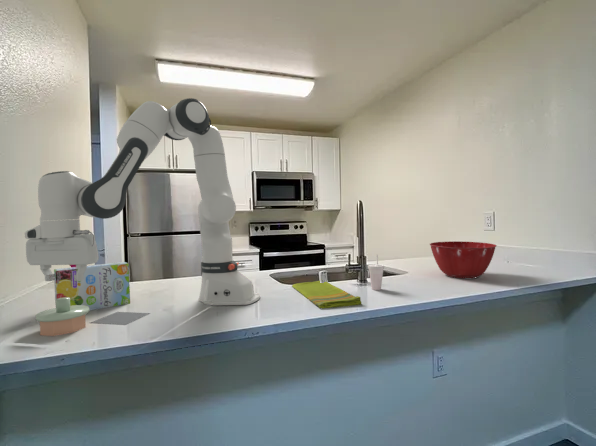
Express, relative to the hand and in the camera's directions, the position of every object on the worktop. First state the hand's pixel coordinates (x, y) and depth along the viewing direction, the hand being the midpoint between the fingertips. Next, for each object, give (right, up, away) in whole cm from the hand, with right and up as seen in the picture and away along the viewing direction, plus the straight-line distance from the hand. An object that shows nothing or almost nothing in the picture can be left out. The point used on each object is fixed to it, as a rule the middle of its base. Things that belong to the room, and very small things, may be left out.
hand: (64, 280), depth 91 cm
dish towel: (+74, -12, +36) cm, 83 cm away
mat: (+11, -13, +9) cm, 19 cm away
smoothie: (+96, -11, +43) cm, 106 cm away
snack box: (-5, -14, +22) cm, 26 cm away
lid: (0, -9, 0) cm, 9 cm away
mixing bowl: (+143, -10, +67) cm, 158 cm away
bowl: (0, -14, 0) cm, 14 cm away
